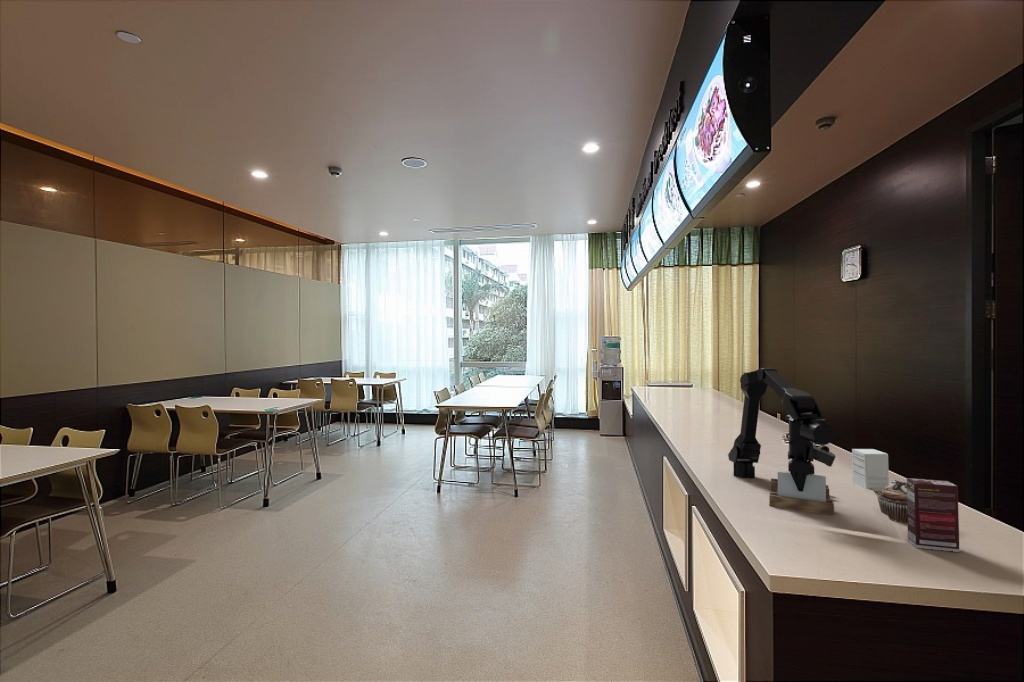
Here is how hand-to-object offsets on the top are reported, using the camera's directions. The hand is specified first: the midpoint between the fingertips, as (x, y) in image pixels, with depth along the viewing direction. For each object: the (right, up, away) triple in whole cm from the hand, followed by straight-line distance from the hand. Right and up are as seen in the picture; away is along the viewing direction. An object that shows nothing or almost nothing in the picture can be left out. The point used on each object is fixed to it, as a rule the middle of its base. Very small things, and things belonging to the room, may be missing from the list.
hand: (800, 490), depth 139 cm
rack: (+4, -6, +7) cm, 10 cm away
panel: (0, -5, 0) cm, 5 cm away
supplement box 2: (+17, -6, -24) cm, 30 cm away
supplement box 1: (+36, -6, +20) cm, 42 cm away
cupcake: (+25, -6, -5) cm, 26 cm away
